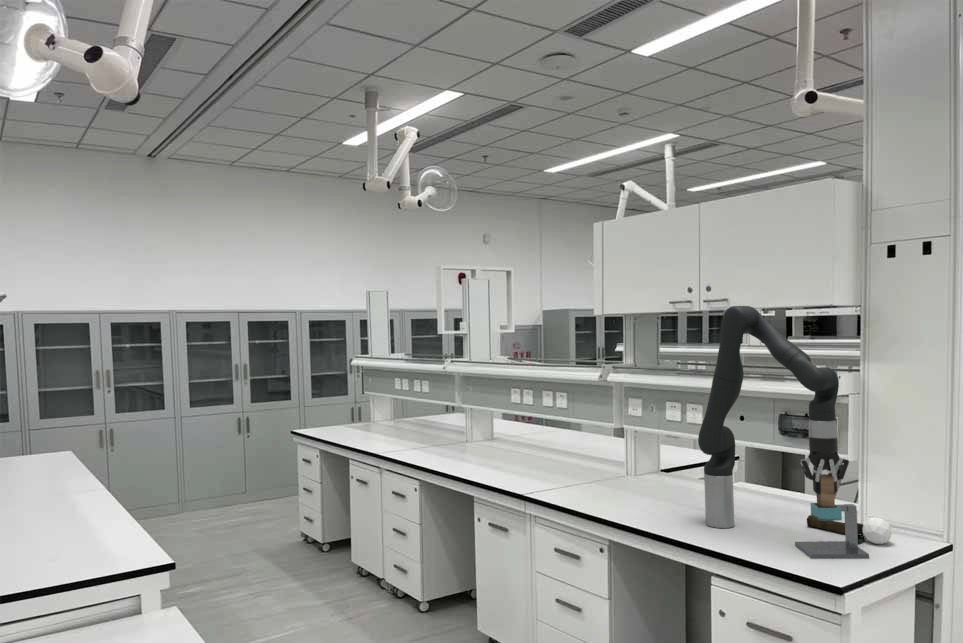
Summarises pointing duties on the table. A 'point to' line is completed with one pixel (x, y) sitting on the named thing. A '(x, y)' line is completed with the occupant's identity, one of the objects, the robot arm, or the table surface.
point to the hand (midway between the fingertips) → (825, 493)
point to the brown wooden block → (826, 492)
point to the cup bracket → (835, 547)
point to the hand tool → (831, 525)
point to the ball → (877, 530)
